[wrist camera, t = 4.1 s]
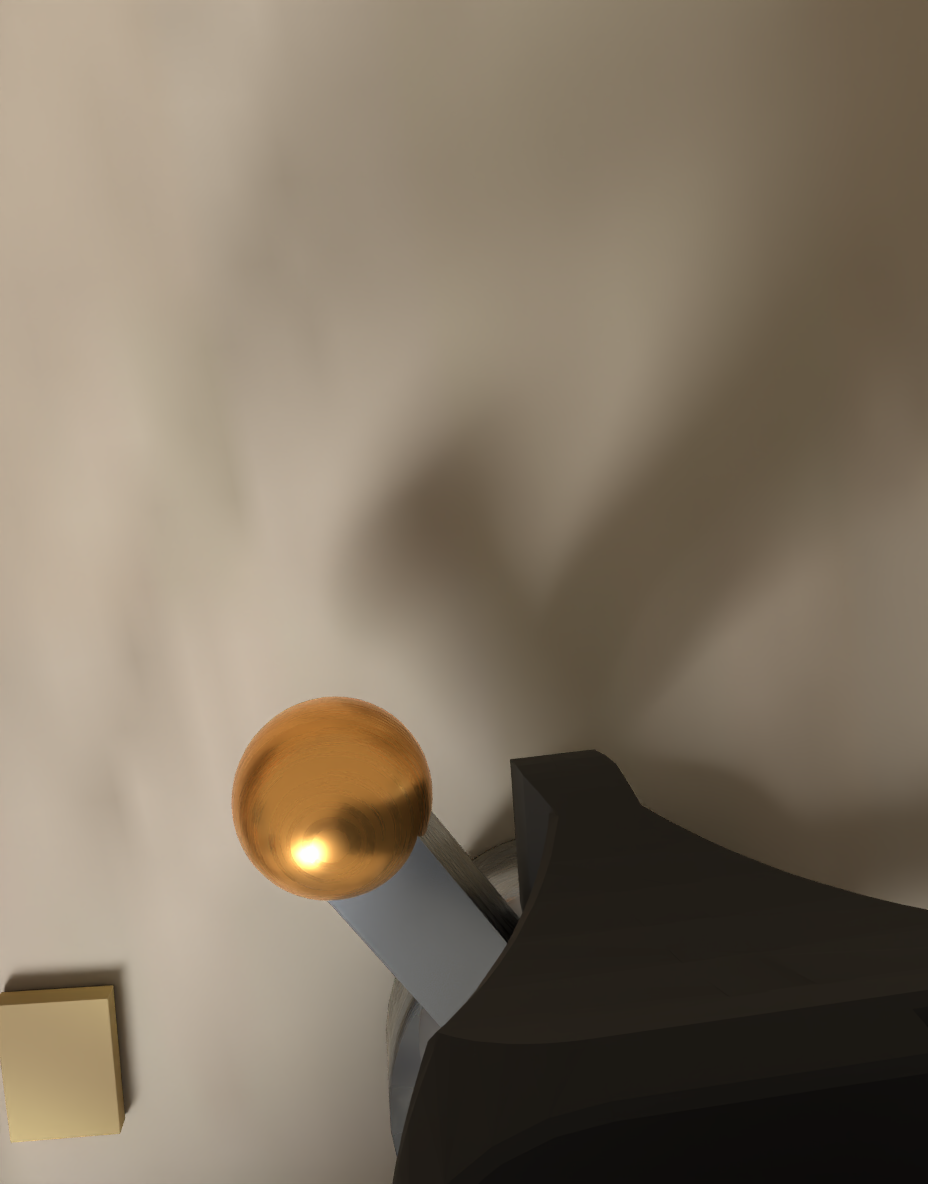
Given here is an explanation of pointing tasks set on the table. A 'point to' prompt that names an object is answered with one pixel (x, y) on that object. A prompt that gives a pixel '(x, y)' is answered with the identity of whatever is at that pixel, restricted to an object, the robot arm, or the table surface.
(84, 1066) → the stand
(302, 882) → the cam capstan
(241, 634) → the table surface
